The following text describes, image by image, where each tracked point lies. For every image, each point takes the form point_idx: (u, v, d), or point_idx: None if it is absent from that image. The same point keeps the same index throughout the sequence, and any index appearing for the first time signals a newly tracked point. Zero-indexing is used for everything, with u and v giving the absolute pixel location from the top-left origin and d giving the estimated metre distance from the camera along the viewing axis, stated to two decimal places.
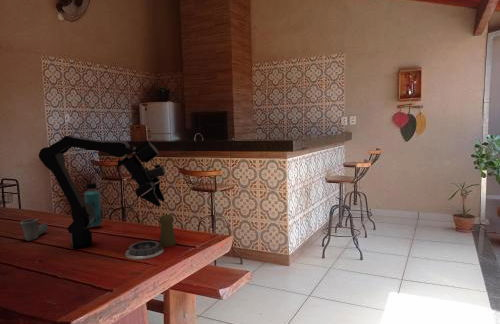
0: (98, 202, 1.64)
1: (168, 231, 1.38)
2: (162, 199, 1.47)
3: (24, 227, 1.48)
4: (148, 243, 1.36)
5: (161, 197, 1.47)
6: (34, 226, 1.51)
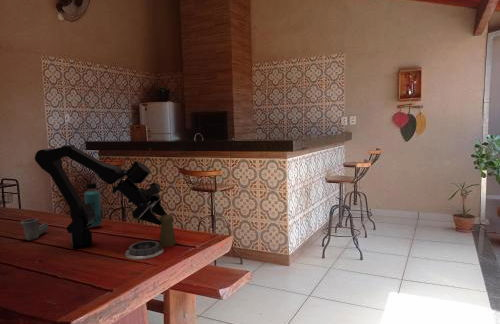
0: (98, 202, 1.64)
1: (168, 231, 1.38)
2: None
3: (25, 227, 1.49)
4: (148, 243, 1.36)
5: (164, 214, 1.44)
6: (35, 226, 1.51)
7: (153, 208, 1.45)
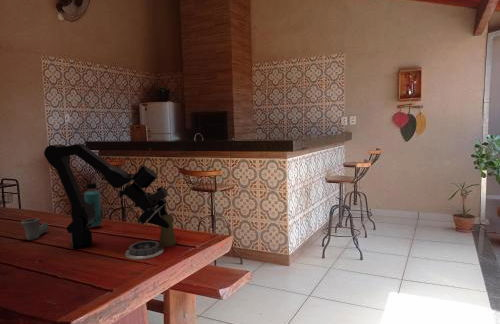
0: (98, 202, 1.64)
1: (168, 231, 1.38)
2: None
3: (25, 226, 1.49)
4: (148, 243, 1.36)
5: None
6: (35, 226, 1.51)
7: None
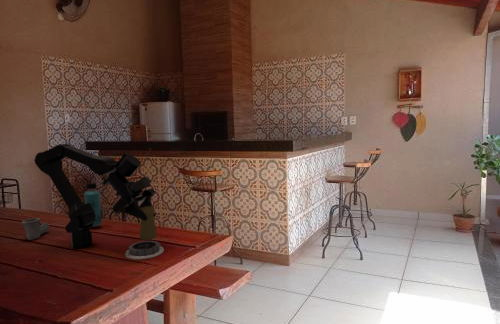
0: (98, 202, 1.64)
1: (147, 224, 1.30)
2: None
3: (26, 226, 1.49)
4: (148, 243, 1.36)
5: None
6: (36, 225, 1.52)
7: (142, 204, 1.36)
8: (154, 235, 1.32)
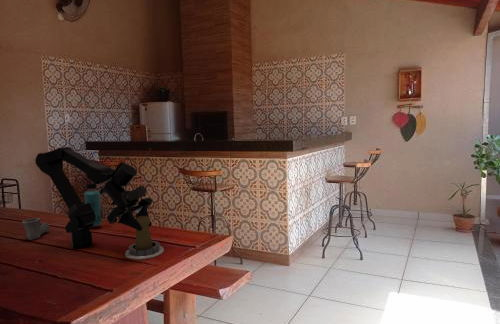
0: (98, 202, 1.64)
1: (141, 234, 1.29)
2: (149, 224, 1.33)
3: (26, 226, 1.49)
4: None
5: None
6: (36, 225, 1.52)
7: (138, 214, 1.35)
8: (149, 245, 1.30)
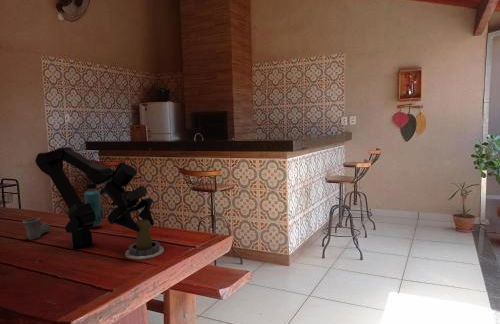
0: (98, 202, 1.64)
1: (142, 238, 1.29)
2: (151, 223, 1.34)
3: (27, 226, 1.50)
4: None
5: (150, 221, 1.34)
6: (36, 225, 1.52)
7: (141, 213, 1.36)
8: None
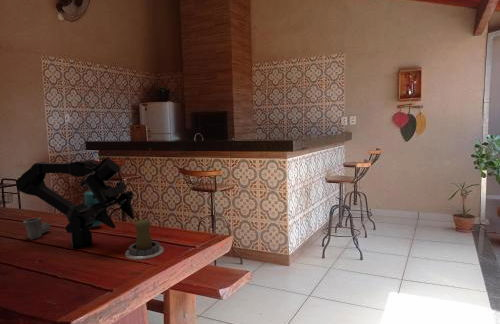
0: (98, 202, 1.64)
1: (142, 238, 1.29)
2: (131, 217, 1.40)
3: (28, 226, 1.50)
4: None
5: (130, 215, 1.40)
6: (37, 225, 1.52)
7: (122, 206, 1.41)
8: None
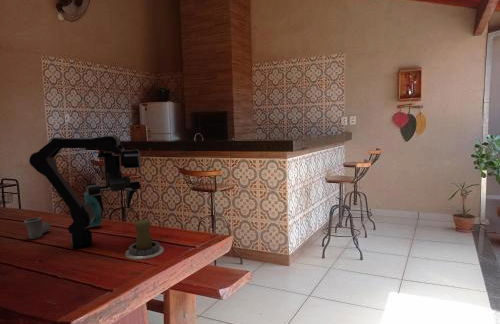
0: None
1: (142, 238, 1.29)
2: (127, 206, 1.45)
3: (28, 226, 1.50)
4: None
5: (127, 204, 1.44)
6: (38, 225, 1.53)
7: (127, 191, 1.45)
8: None
